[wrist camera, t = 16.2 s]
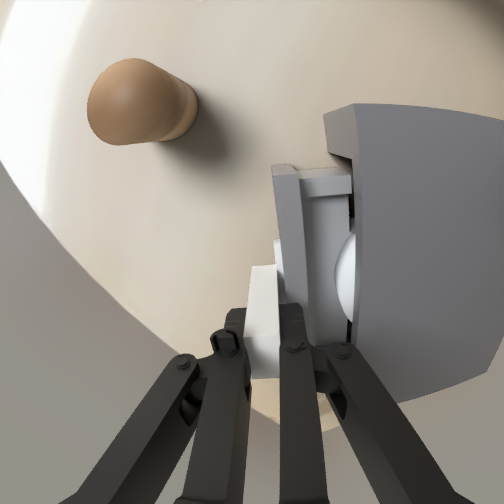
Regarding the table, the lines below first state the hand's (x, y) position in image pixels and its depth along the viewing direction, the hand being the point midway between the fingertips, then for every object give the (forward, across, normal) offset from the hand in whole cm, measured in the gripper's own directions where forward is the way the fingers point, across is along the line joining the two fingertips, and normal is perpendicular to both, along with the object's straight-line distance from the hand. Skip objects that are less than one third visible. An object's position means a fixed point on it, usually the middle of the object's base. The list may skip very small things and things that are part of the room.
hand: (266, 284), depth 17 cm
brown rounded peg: (+3, -5, +12) cm, 13 cm away
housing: (+3, +12, 0) cm, 12 cm away
